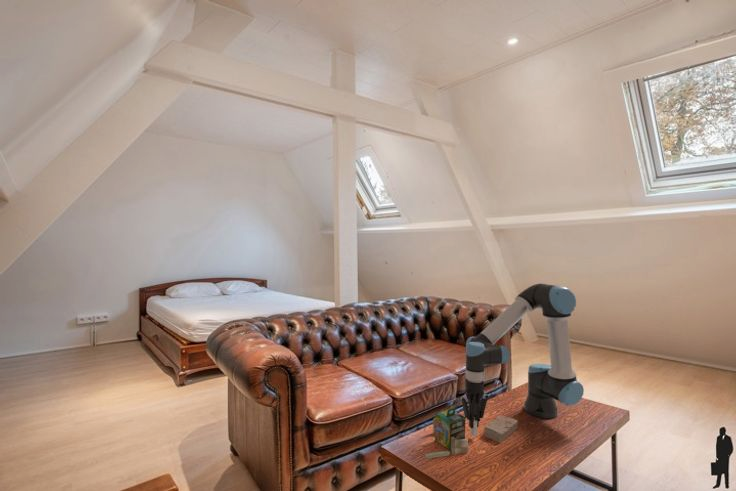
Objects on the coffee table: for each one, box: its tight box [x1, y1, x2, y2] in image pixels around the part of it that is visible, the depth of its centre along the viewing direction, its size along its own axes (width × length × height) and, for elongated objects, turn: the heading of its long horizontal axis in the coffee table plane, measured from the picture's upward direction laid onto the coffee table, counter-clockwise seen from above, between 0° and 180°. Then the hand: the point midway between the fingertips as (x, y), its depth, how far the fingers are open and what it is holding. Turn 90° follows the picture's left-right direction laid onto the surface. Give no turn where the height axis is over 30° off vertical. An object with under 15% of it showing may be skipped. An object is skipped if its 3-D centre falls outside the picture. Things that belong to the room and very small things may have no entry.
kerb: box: [424, 450, 451, 459], centre depth 144 cm, size 10×1×1 cm, turn 105°
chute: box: [432, 417, 469, 456], centre depth 154 cm, size 7×17×6 cm, turn 15°
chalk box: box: [434, 406, 467, 451], centre depth 154 cm, size 9×9×15 cm
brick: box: [483, 414, 519, 444], centre depth 162 cm, size 16×8×5 cm, turn 134°
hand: (473, 434), depth 157 cm, fingers closed
